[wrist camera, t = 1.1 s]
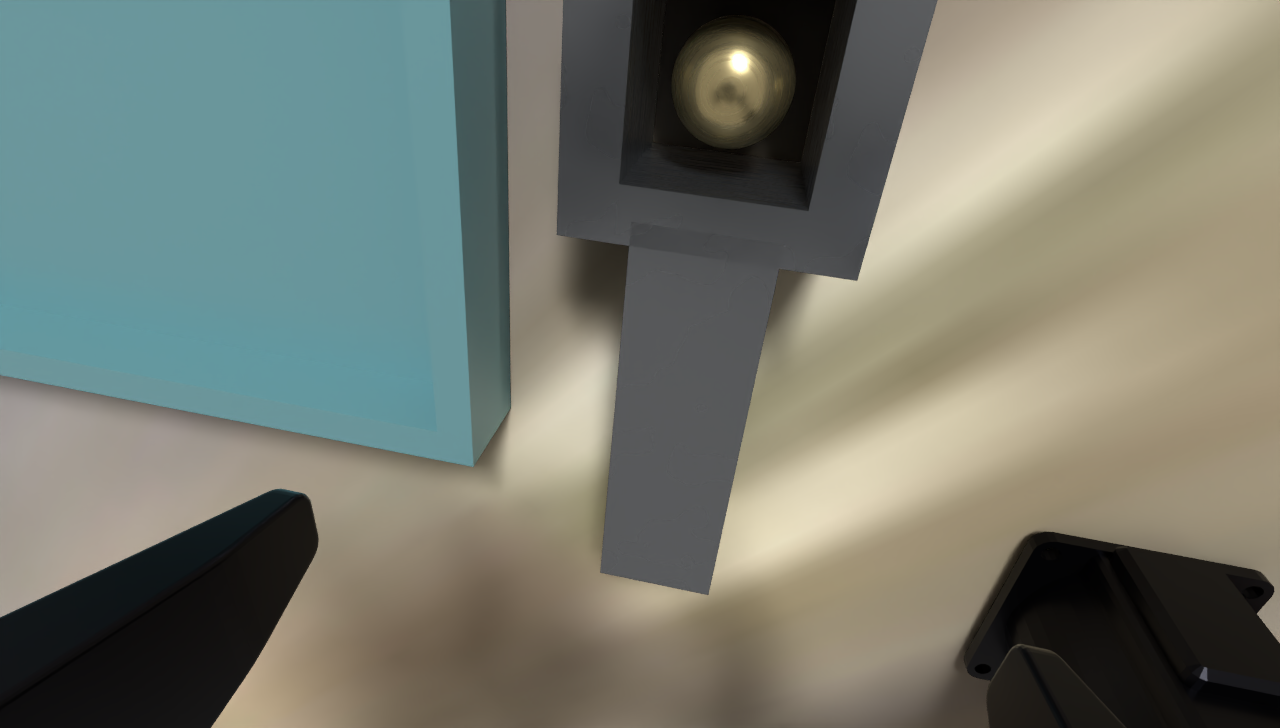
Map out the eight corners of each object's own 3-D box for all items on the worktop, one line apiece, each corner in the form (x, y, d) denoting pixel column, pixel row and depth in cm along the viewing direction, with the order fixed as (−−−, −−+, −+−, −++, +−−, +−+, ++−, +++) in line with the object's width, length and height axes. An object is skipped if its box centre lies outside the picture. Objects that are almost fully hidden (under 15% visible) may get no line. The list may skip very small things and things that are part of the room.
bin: (510, 407, 21) (473, 466, 18) (-109, 294, 23) (-219, 332, 20) (502, -274, 12) (431, -343, 10) (-457, -339, 15) (-713, -408, 12)
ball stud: (780, 133, 15) (782, 169, 12) (679, 119, 15) (656, 151, 12) (802, 17, 14) (811, 24, 11) (693, 5, 14) (670, 9, 11)
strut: (765, 505, 21) (763, 606, 17) (583, 470, 21) (547, 561, 18) (914, -75, 13) (965, -99, 9) (619, -103, 13) (567, -135, 10)
